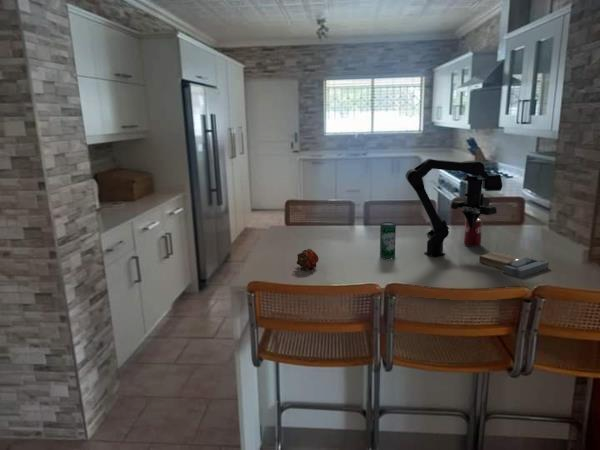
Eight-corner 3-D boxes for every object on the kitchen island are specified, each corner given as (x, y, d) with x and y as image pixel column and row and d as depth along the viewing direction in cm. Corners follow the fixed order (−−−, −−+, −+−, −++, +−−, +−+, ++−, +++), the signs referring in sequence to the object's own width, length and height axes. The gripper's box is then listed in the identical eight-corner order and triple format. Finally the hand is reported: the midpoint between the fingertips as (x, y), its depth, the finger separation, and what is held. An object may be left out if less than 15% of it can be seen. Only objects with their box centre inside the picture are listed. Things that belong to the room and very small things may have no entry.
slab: (505, 270, 173) (506, 263, 172) (479, 262, 183) (479, 255, 182) (521, 265, 178) (521, 258, 177) (494, 258, 188) (495, 251, 187)
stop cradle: (520, 277, 164) (520, 271, 163) (503, 272, 170) (503, 266, 169) (548, 268, 173) (548, 262, 172) (530, 263, 179) (531, 257, 178)
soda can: (462, 246, 205) (464, 220, 202) (465, 242, 211) (466, 217, 209) (479, 247, 202) (481, 221, 199) (481, 243, 208) (483, 218, 205)
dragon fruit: (303, 277, 176) (308, 271, 188) (321, 264, 174) (324, 259, 186) (291, 259, 176) (296, 254, 188) (308, 247, 174) (312, 243, 186)
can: (384, 260, 188) (384, 225, 185) (377, 256, 194) (378, 222, 191) (397, 258, 190) (397, 224, 186) (390, 254, 196) (391, 221, 192)
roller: (516, 273, 170) (518, 263, 169) (506, 268, 173) (509, 259, 172) (530, 268, 175) (532, 259, 173) (520, 264, 178) (523, 255, 176)
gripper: (506, 191, 182) (503, 228, 186) (468, 186, 198) (466, 221, 202) (489, 194, 177) (486, 233, 180) (451, 189, 192) (449, 224, 196)
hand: (471, 227), depth 190 cm, fingers closed
